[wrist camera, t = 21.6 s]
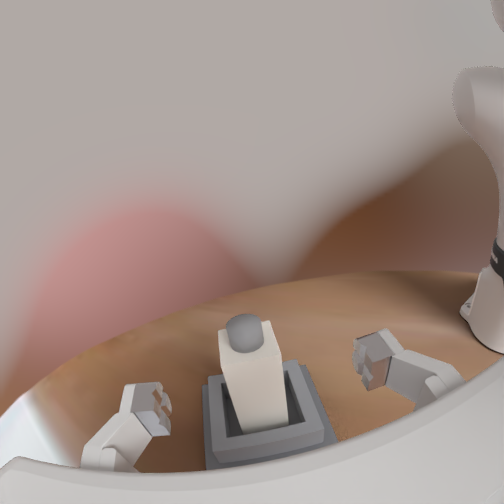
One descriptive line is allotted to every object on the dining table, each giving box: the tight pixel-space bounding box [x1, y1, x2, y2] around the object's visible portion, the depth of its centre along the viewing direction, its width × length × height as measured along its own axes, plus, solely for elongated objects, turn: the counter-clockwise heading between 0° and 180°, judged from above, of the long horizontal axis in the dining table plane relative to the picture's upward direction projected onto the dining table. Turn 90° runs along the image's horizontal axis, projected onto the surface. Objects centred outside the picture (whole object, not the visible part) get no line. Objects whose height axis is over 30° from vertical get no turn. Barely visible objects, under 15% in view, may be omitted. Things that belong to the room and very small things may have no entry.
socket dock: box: [202, 359, 338, 470], centre depth 29 cm, size 14×14×4 cm
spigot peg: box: [218, 314, 289, 435], centre depth 27 cm, size 5×5×14 cm
